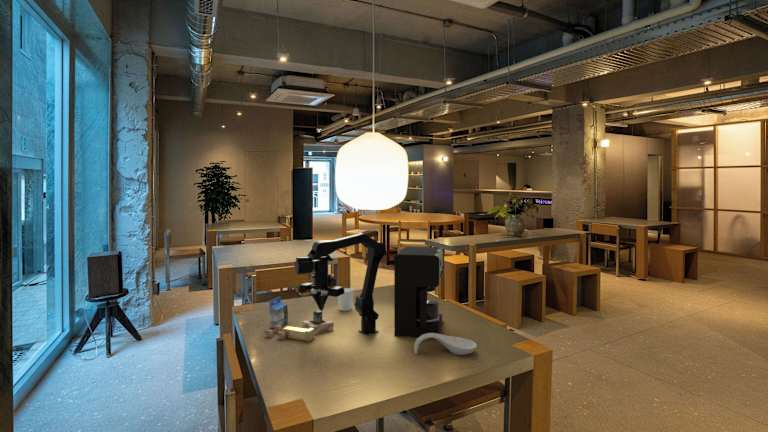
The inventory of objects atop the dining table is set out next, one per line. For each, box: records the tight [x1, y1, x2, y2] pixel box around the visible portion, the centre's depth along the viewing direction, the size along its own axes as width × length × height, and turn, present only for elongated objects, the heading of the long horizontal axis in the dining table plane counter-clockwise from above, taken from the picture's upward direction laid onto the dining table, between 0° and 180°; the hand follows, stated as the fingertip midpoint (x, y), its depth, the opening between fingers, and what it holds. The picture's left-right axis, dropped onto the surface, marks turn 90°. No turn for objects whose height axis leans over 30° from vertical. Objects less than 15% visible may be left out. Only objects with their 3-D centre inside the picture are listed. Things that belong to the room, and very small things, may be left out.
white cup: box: [337, 287, 354, 312], centre depth 206 cm, size 8×8×10 cm
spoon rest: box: [413, 333, 478, 356], centre depth 151 cm, size 24×12×7 cm, turn 91°
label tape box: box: [269, 295, 289, 329], centre depth 182 cm, size 9×4×12 cm, turn 161°
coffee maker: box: [393, 246, 445, 340], centre depth 175 cm, size 28×20×35 cm
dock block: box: [301, 316, 334, 336], centre depth 176 cm, size 10×10×4 cm
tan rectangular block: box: [282, 325, 316, 342], centre depth 166 cm, size 13×4×4 cm, turn 68°
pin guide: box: [264, 325, 287, 340], centre depth 169 cm, size 9×7×3 cm
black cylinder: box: [312, 309, 323, 325], centre depth 176 cm, size 4×4×8 cm
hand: (321, 310), depth 163 cm, fingers closed
